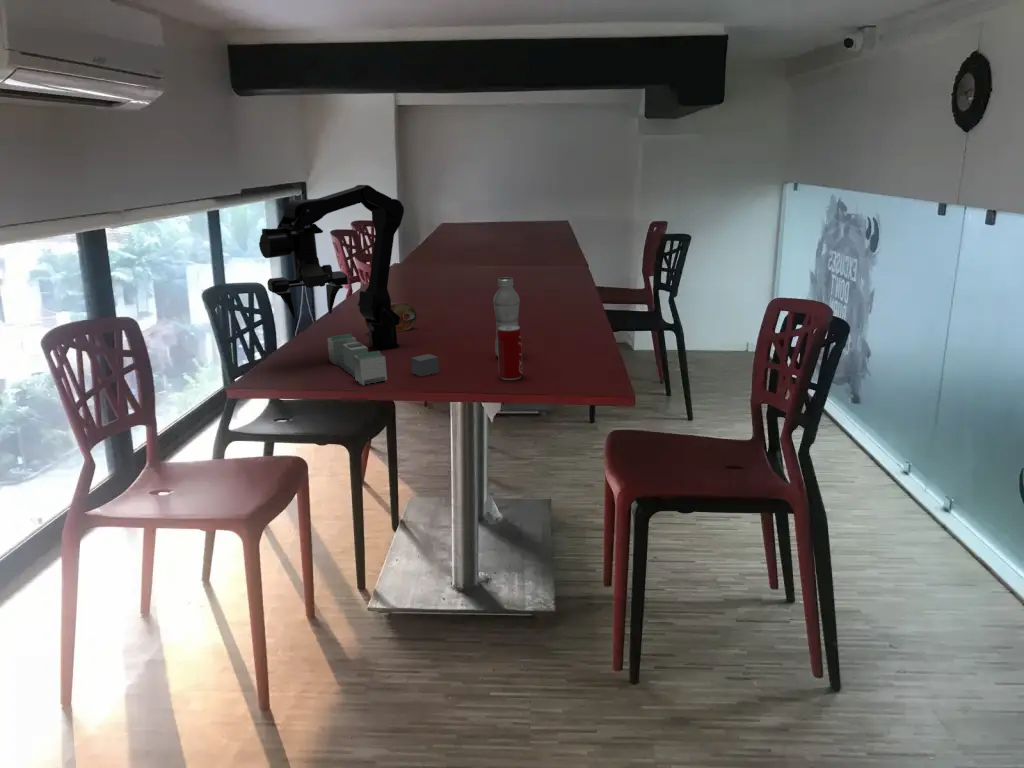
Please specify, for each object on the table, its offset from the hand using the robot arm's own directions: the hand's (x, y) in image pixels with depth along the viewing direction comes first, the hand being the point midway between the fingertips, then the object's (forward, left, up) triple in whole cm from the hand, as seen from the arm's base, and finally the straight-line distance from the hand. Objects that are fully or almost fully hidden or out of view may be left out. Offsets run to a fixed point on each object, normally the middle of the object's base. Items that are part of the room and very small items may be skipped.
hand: (312, 315), depth 195 cm
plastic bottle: (-42, +25, -12) cm, 50 cm away
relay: (-19, +26, -12) cm, 34 cm away
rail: (-6, +14, -12) cm, 19 cm away
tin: (-28, -21, -12) cm, 37 cm away
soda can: (-34, +41, -12) cm, 55 cm away
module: (-6, +14, -11) cm, 19 cm away
